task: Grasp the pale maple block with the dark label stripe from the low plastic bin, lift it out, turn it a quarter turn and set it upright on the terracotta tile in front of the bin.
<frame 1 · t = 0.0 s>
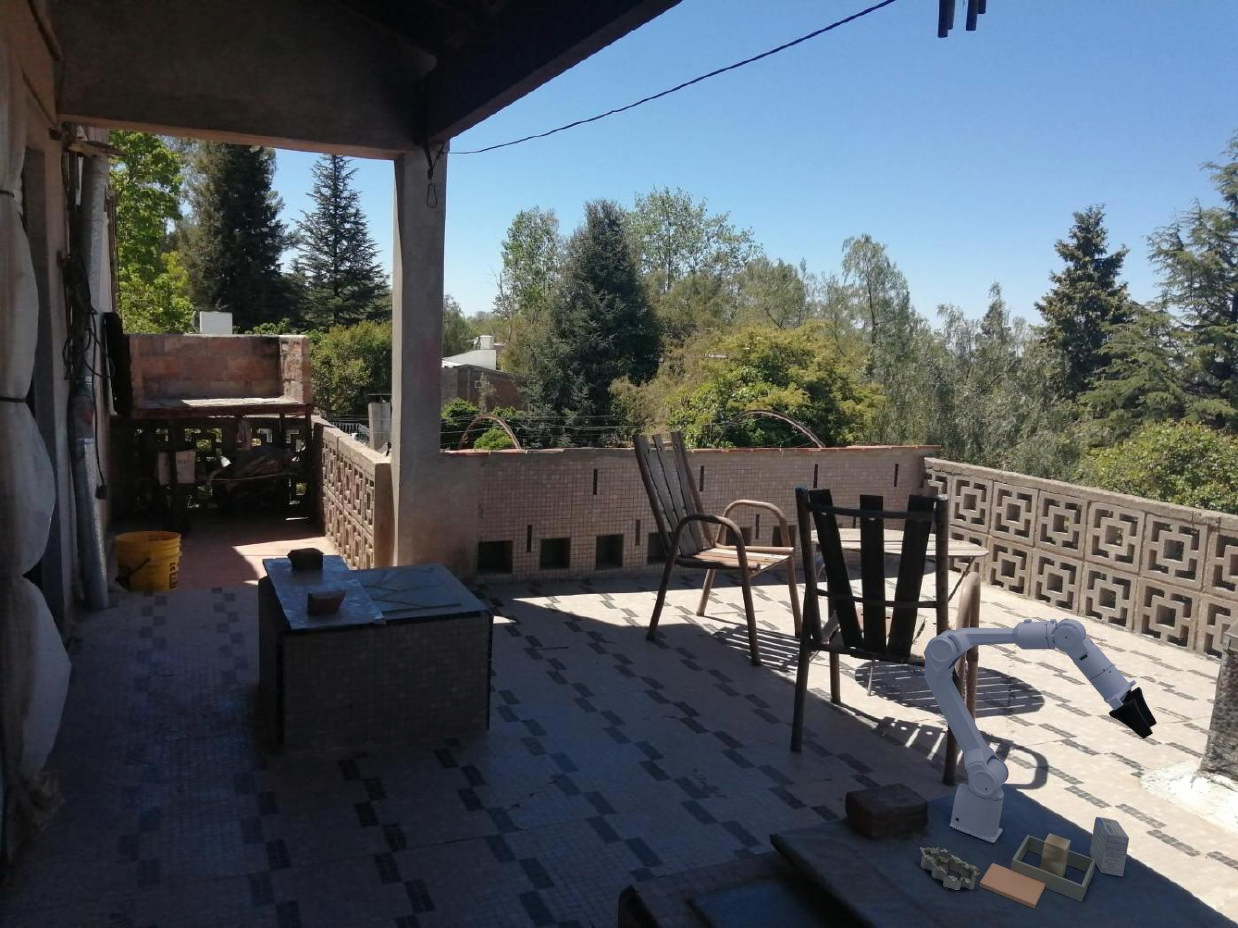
hand: (1150, 730, 182), 32 cm above the table, tool tilted 50°, fingers open, 7 cm apart
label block: (1054, 857, 186), in the bin
medicine box: (1105, 866, 192), on the table
pad: (1012, 886, 179), on the table
bin: (1051, 873, 186), on the table
egg carton: (946, 877, 181), on the table
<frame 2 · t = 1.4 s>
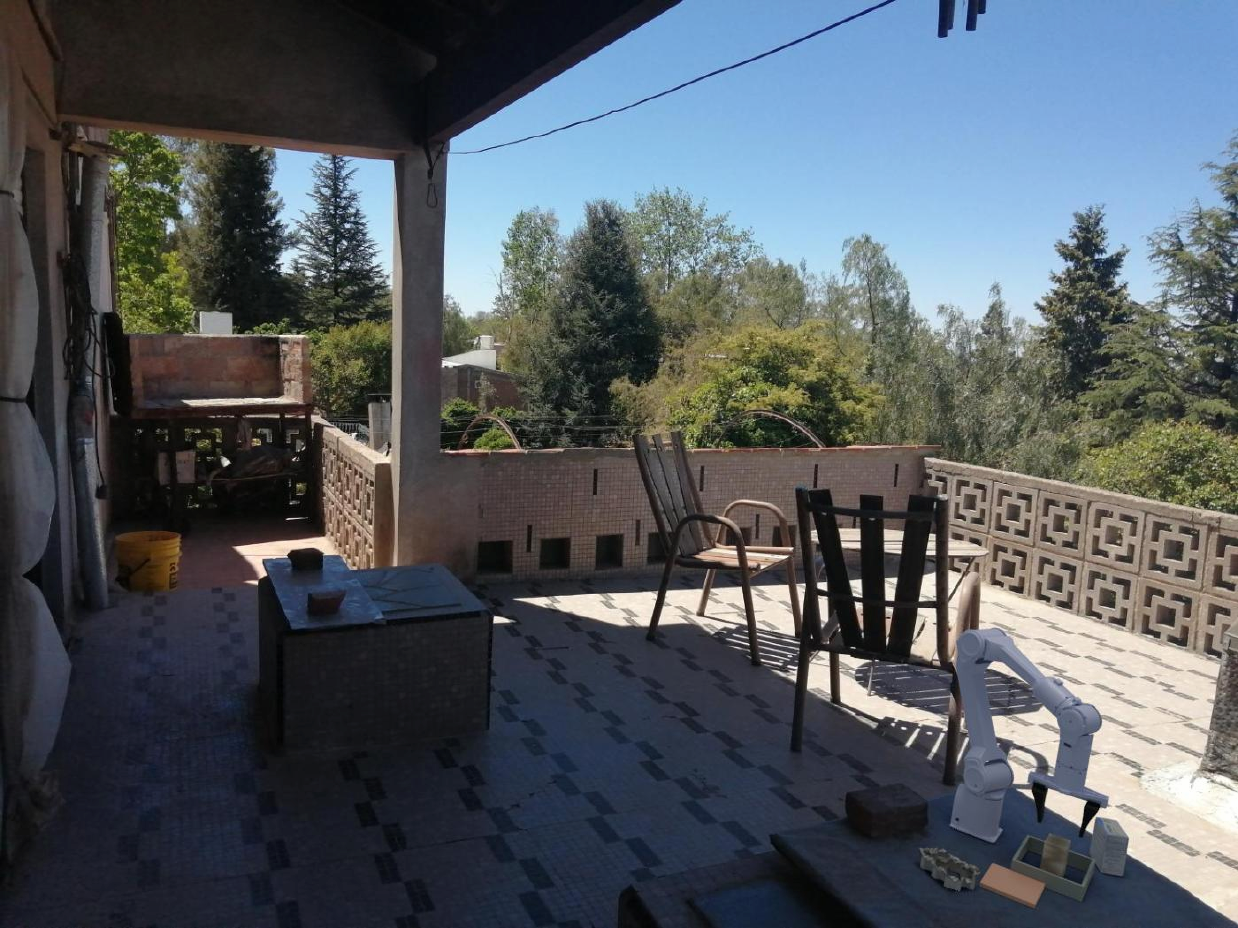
hand: (1060, 828, 185), 10 cm above the table, tool pointing down, fingers open, 7 cm apart
nothing on the table moved.
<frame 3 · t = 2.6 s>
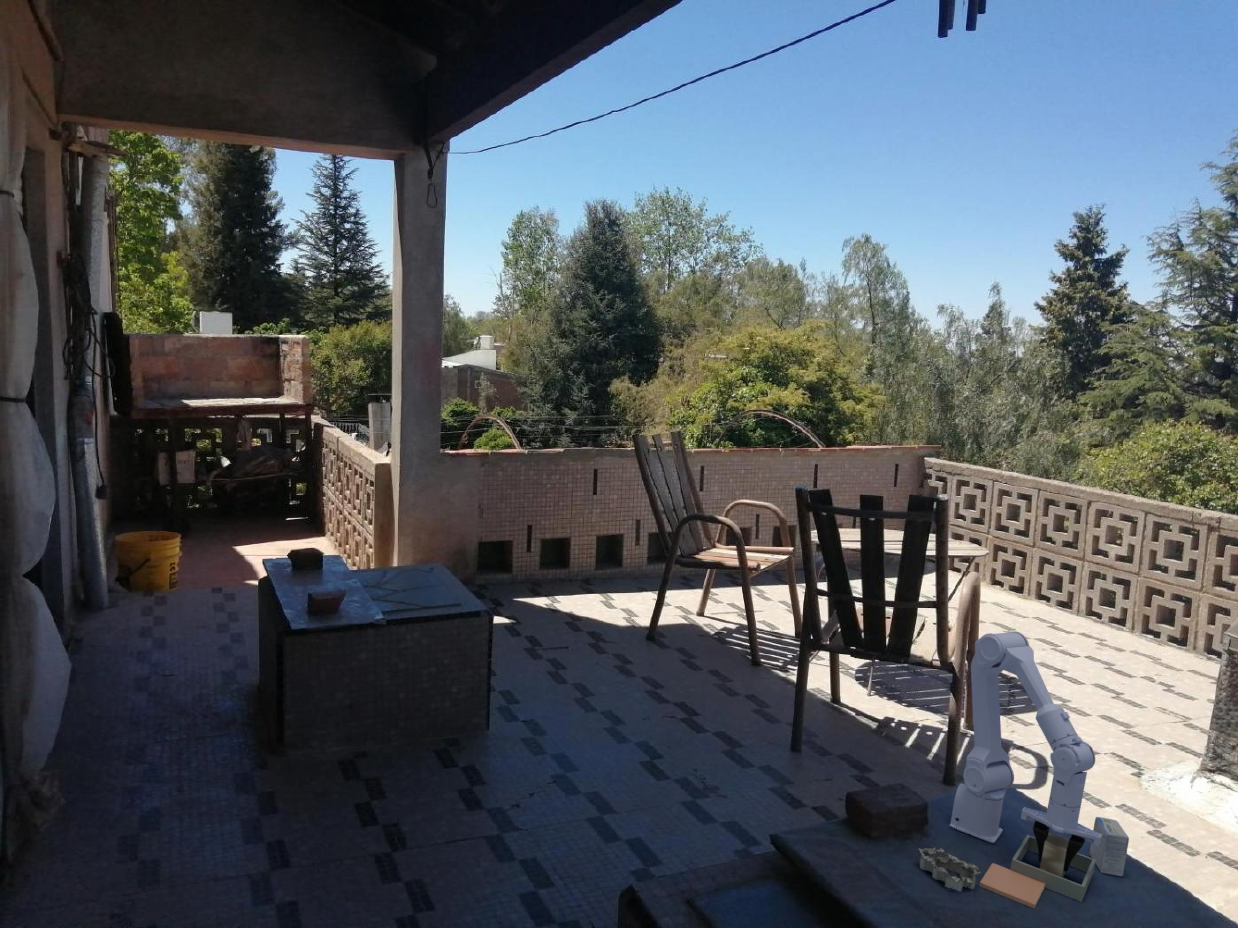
hand: (1053, 864, 186), 2 cm above the table, tool pointing down, fingers closed on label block, 4 cm apart
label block: (1055, 857, 186), in the bin, touching gripper
everything else where it was.
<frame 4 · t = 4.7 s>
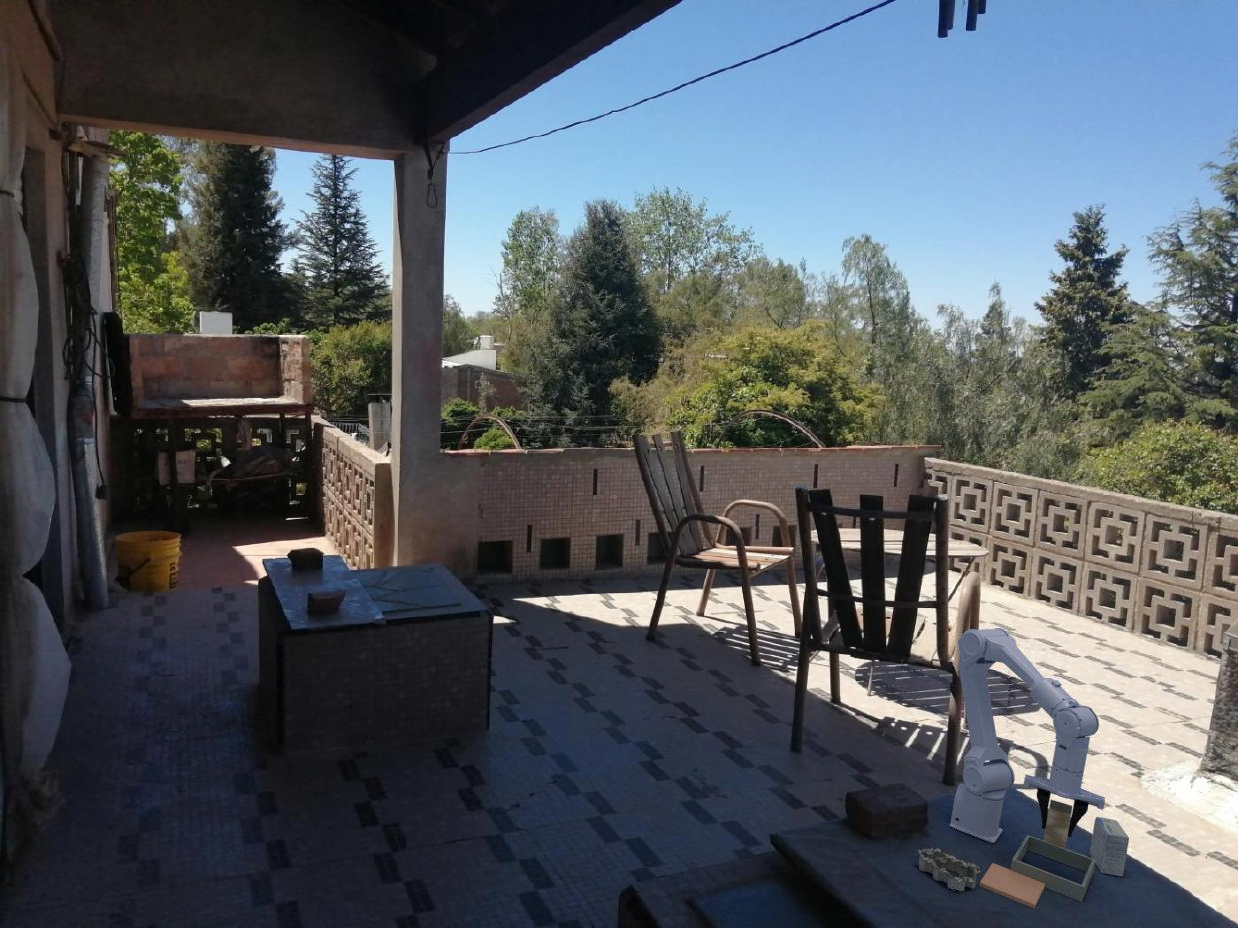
hand: (1056, 830, 185), 9 cm above the table, tool pointing down, fingers closed on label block, 4 cm apart
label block: (1057, 823, 184), point 11 cm above the table, touching gripper
everything else where it was.
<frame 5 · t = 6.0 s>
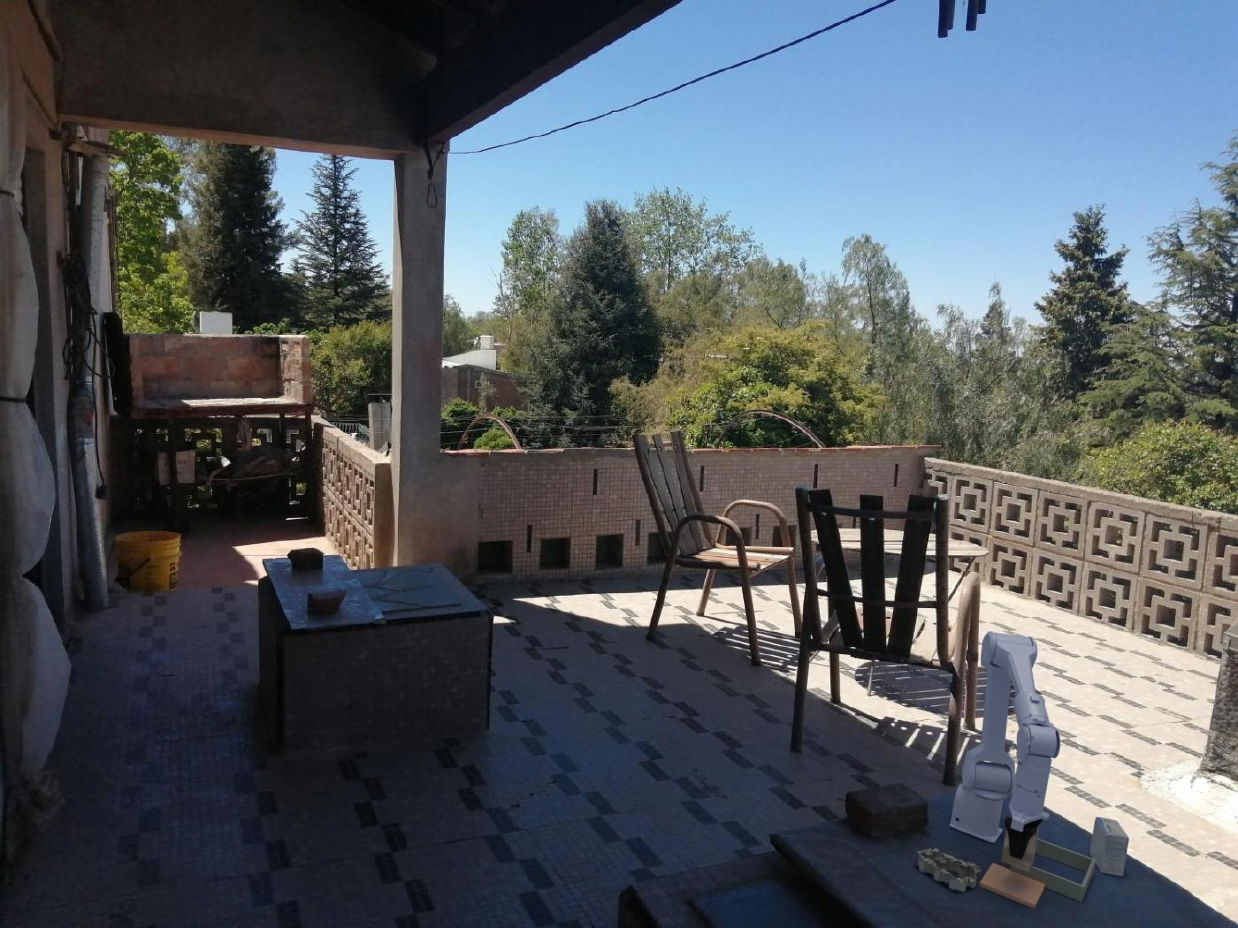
hand: (1018, 852, 178), 7 cm above the table, tool pointing down, fingers closed on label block, 4 cm apart
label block: (1019, 844, 178), point 9 cm above the table, touching gripper
when the fingers open (4 cm above the table, at t = 7.0 s): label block drops 1 cm, resting on pad.
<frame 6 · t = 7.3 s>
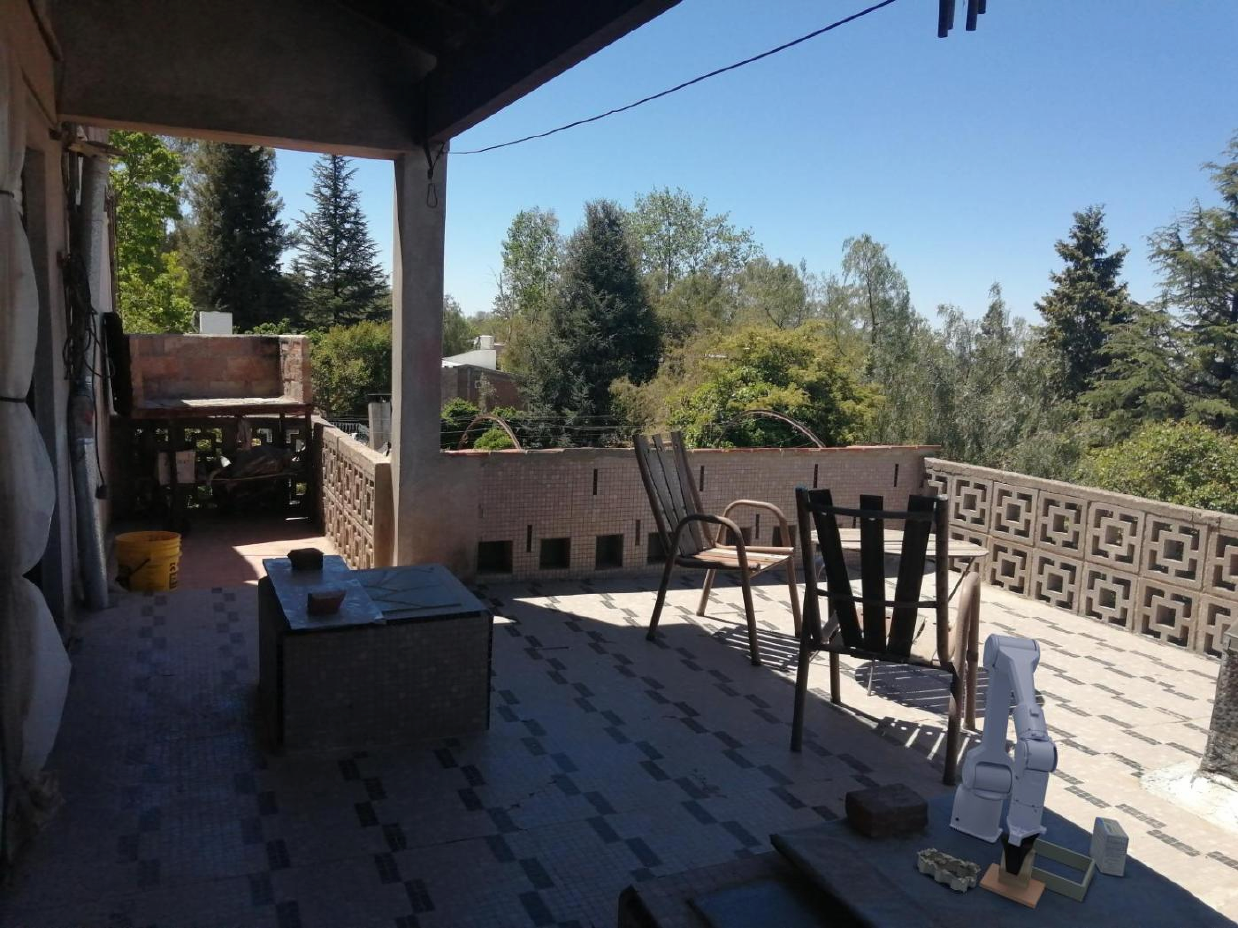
hand: (1015, 866, 179), 4 cm above the table, tool pointing down, fingers open, 6 cm apart
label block: (1015, 865, 179), on the pad, point 4 cm above the table
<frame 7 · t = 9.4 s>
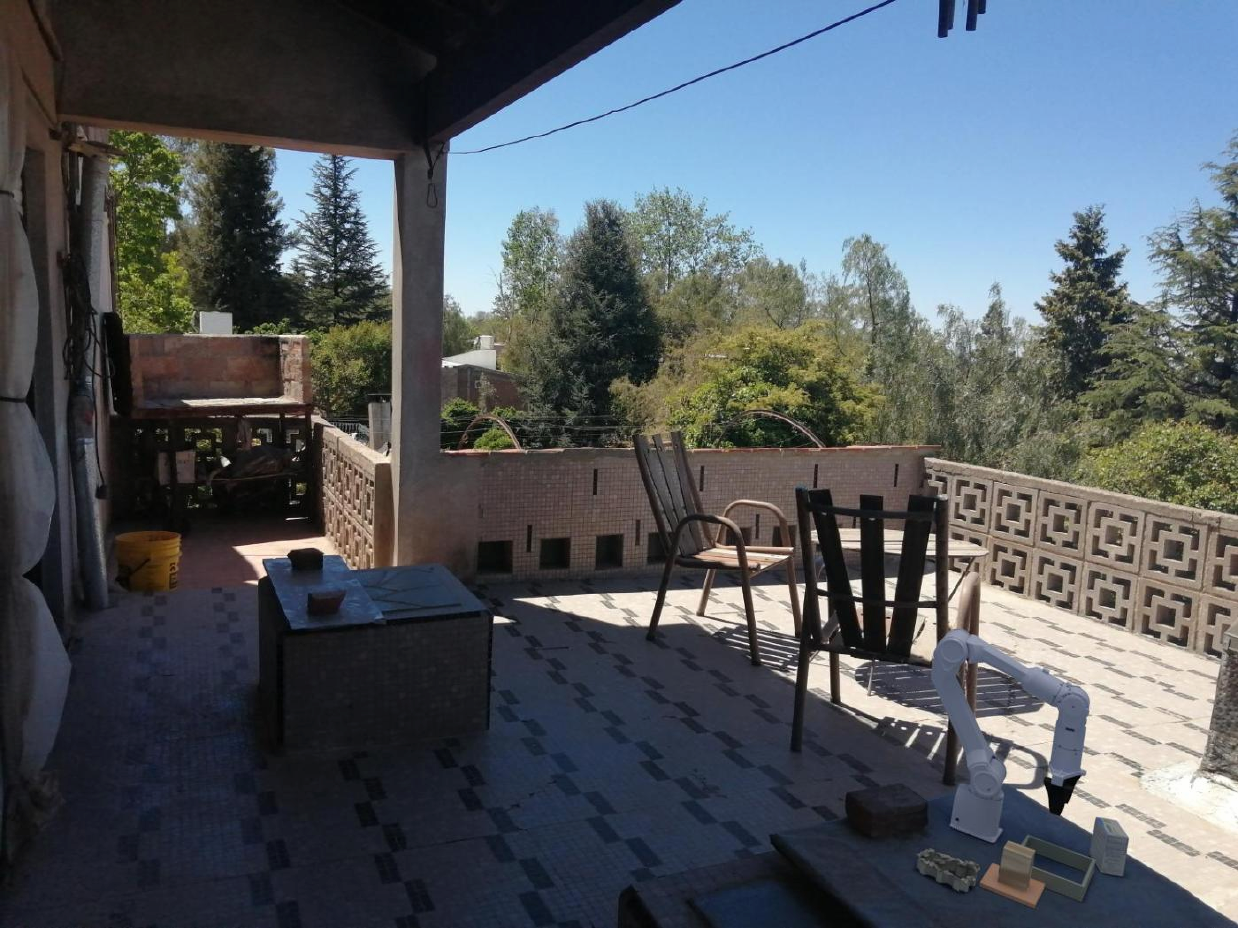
hand: (1059, 807, 193), 10 cm above the table, tool pointing down, fingers open, 7 cm apart
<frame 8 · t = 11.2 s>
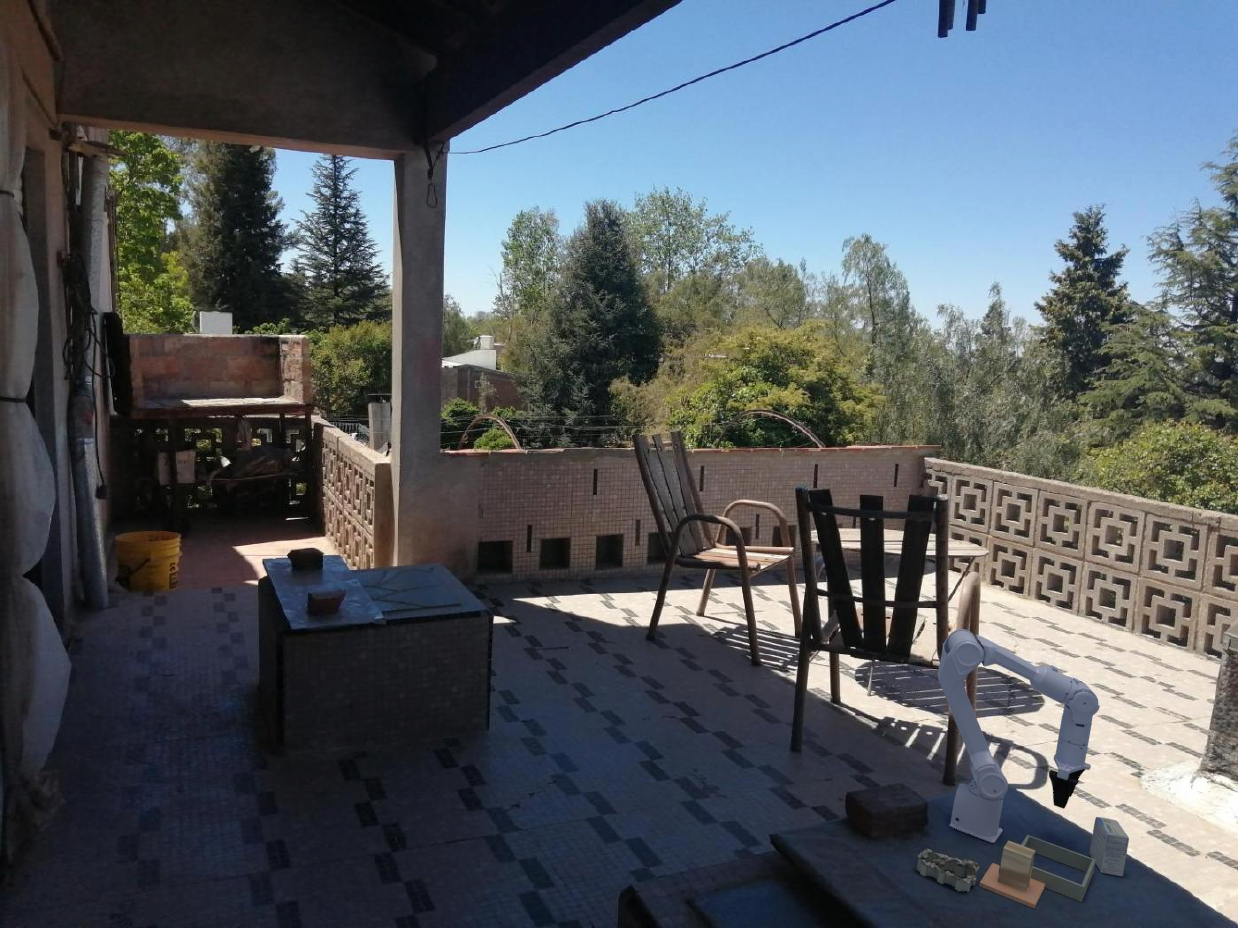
hand: (1062, 800, 197), 10 cm above the table, tool pointing down, fingers open, 7 cm apart
at the end: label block inside the target area on the pad (0.1 cm from its centre), point 4.3 cm above the pad's base; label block tilted 0°; the gripper is holding nothing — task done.
